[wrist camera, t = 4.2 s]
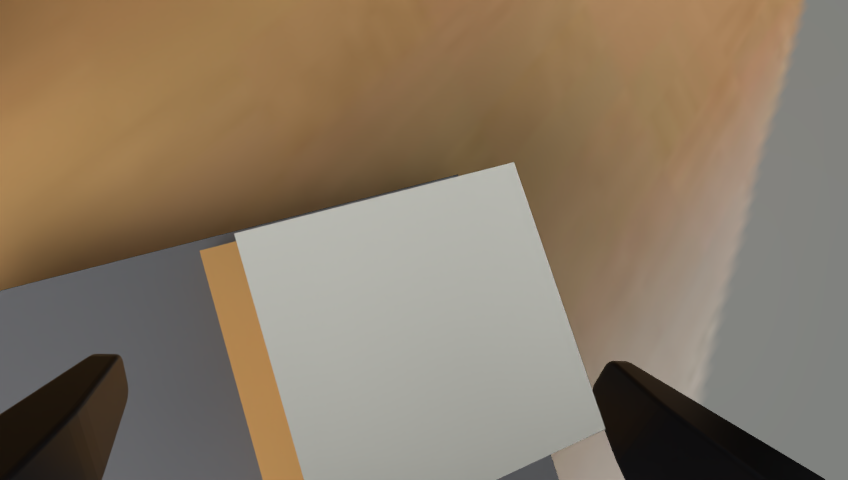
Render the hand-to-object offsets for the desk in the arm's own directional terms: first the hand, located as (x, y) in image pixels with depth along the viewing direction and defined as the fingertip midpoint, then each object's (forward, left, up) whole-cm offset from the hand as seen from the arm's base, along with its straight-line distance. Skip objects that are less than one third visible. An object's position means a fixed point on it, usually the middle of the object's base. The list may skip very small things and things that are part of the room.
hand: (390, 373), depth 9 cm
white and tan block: (+1, 0, -9) cm, 9 cm away
